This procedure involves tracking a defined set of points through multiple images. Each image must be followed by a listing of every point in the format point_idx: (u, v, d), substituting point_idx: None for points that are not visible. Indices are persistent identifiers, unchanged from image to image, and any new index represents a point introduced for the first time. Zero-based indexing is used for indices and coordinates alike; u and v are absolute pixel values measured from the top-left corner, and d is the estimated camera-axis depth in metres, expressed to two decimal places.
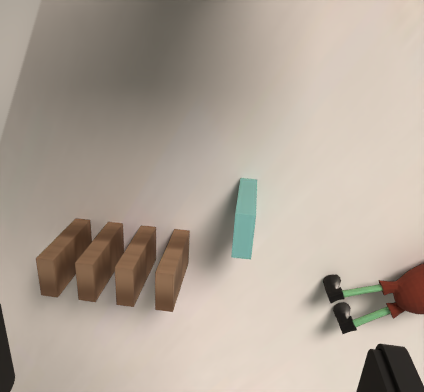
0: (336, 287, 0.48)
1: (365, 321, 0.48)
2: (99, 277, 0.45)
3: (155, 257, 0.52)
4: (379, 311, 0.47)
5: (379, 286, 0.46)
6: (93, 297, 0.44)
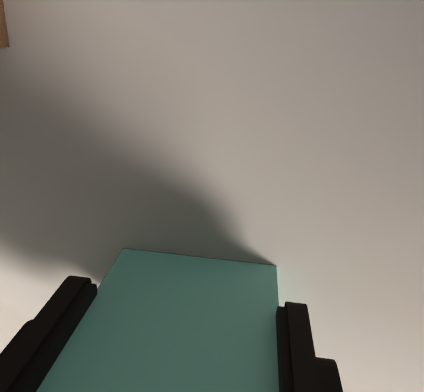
0: None
1: None
2: None
3: None
4: None
5: None
6: None
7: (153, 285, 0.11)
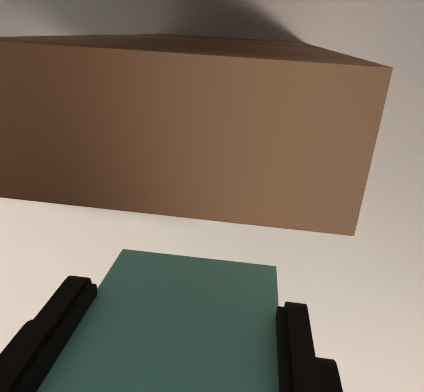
0: None
1: None
2: None
3: None
4: None
5: None
6: None
7: (153, 286, 0.11)
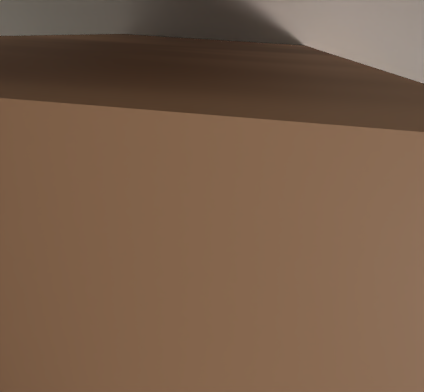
0: None
1: None
2: None
3: None
4: None
5: None
6: None
7: None
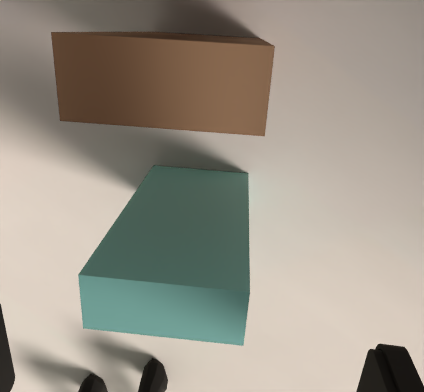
0: None
1: None
2: None
3: None
4: None
5: None
6: None
7: (175, 179, 0.19)
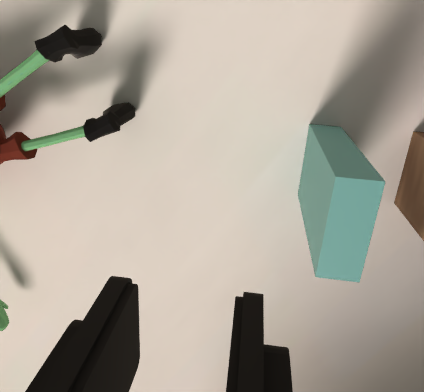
0: None
1: (26, 66, 0.22)
2: None
3: None
4: (9, 89, 0.23)
5: (30, 149, 0.24)
6: None
7: None
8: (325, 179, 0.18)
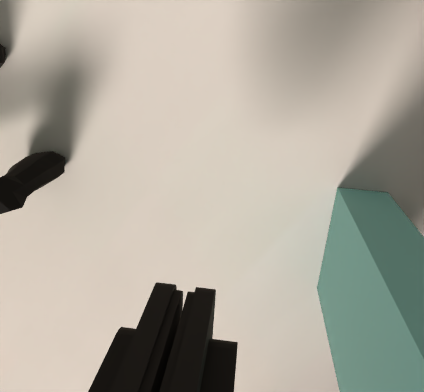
0: None
1: None
2: None
3: None
4: None
5: None
6: None
7: None
8: (395, 351, 0.09)
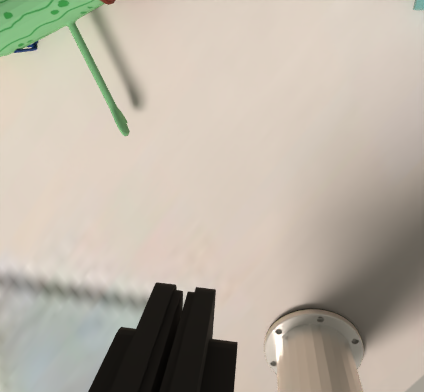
0: None
1: None
2: None
3: None
4: None
5: None
6: None
7: None
8: None
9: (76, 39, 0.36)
